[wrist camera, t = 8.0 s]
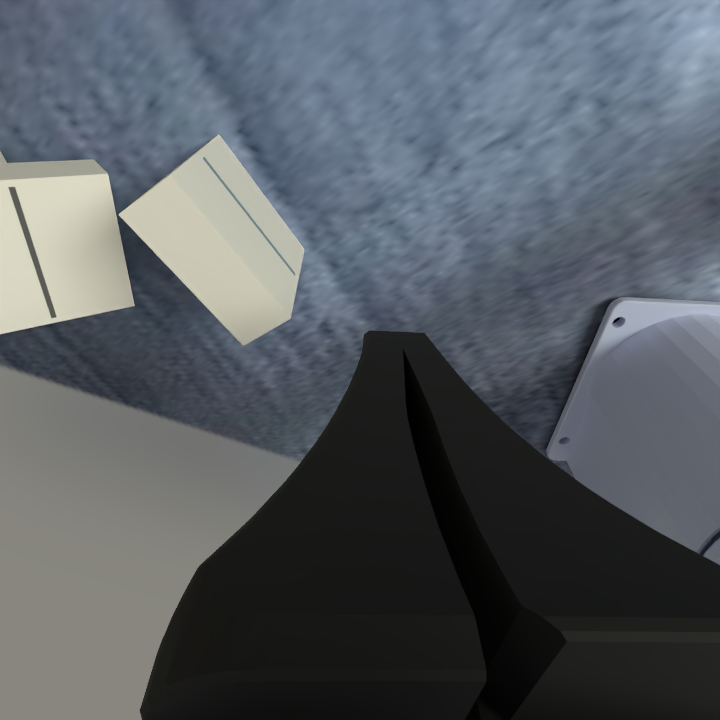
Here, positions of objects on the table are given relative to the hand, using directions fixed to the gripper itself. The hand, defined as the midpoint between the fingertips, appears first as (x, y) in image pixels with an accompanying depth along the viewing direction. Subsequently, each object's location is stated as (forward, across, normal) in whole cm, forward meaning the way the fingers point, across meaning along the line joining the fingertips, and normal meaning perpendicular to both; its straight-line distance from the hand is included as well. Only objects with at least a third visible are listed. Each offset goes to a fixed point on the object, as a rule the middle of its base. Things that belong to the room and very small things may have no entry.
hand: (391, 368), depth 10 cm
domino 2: (+9, +5, -1) cm, 10 cm away
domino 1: (+8, +9, 0) cm, 12 cm away
